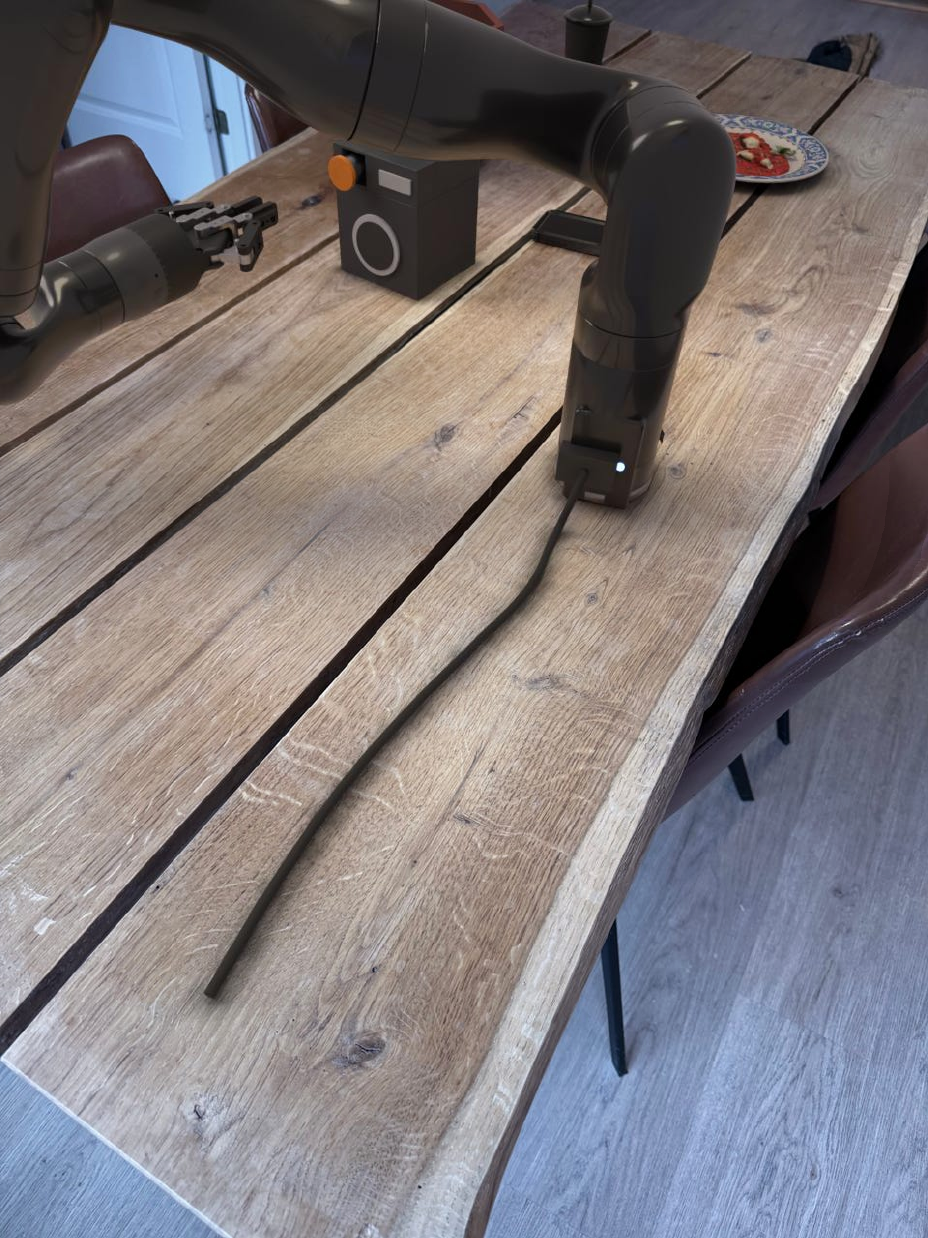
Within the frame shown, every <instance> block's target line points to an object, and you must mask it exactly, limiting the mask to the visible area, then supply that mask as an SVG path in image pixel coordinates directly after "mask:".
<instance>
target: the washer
mask: <svg viewBox="0 0 928 1238" xmlns="http://www.w3.org/2000/svg"><path fill="white" fill-rule="evenodd" d="M332 148H333V150H332V151H333V157H335V156H337V155H342V156H347V155H349V154H351V153H353V152H356V153H359V154H362V155H365V161H366V177H365V178H363V179H361V180H359V181H357V182H355V185H354V186H353V188H351V189H349V190H347V191H342V190H340V189H338V188H337V187H336V186H335V189H336V190H335V195H336V208H337V222H338V237H339V239H338V240H339V251H340V252H339V253H340V267H341V270H342V271H345V272H347V273H350V274H352V275H355V276H357V277H359V278H361V279H364V280H366V281H369V282H371V283H374V284H376V285H379V286H381V287H383V288H386V289H389V290H391V291H393V292H395V293H398V294H401V295H403V296H406V297H408V298H410V299H413V300H415V301H418V300H421V299H422V298H424V297H425V296H427V295H428V294H430V293H431V292H433V291H435V290H436V289H437V288H439V287H441V286H442V285H444V284H446V283H447V282H448V281H451V280H452V279H453V278H455V277H456V276H459V275H460V274H461V273H463V272H464V271H466V270H468V269H469V268H470V267H472V266H475V264H476V253H477V234H478V233H477V232H478V214H479V213H478V211H479V192H480V191H479V189H480V170H481V159H479V160H462V161H424V160H416V159H410V158H405V157H400V156H396V155H392V154H390V153H389V154H388V153H385V152H381V151H378V150H374V149H371V148H367V147H364V146H360V145H357V144H353V143H350V142H347V141H343V140H340V139H337V140H334V141H332Z"/></svg>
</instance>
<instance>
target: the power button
mask: <svg viewBox="0 0 928 1238" xmlns="http://www.w3.org/2000/svg"><path fill="white" fill-rule="evenodd" d="M327 171H328V176H329V179H330V181H331V182H332V184H333V185H334V186H335V188H336V187H337V188H338V189H340V190H342V191H347V190H349V189H351V188H353V186H354V185H355V182H357V181H359V180H361V179H363V178H365V177H366V161H365V155H362V154H359V153H356V152H353V153H351V154H349V155H347V156H342V155H337V156H335V157H334V156H333V157H331V158H330V160H329V162H328V165H327Z"/></svg>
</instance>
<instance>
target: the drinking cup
mask: <svg viewBox="0 0 928 1238" xmlns="http://www.w3.org/2000/svg"><path fill="white" fill-rule="evenodd" d="M593 2H594V0H587V4H580V5H576V6H575V7H572V8H570V9H567V10H565V12H564V13H563V14H564V20H565V35H564V36H565V37H564V39H565V40H564V41H565V42H564V57H565V58H569V59H572V60H576V61H581V62H585V63H590V64H594V65H599V66H603V60H604V54H605V50H606V45H607V41H608V36H609V30H610V28H611V27H610V26H611V23H612V22H613V19H614V16H613V14H612V13H610V12H608V11H607V10H606V9H604V8H603V7H600V6H598V5H595V4H593Z"/></svg>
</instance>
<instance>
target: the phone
mask: <svg viewBox="0 0 928 1238" xmlns="http://www.w3.org/2000/svg"><path fill="white" fill-rule="evenodd" d="M605 221H606V220H605V219H599V218H595V217H591V216H586V215H582V214H577V213H573V212H569V211H564V210H560V209H554V208H553V209H548V210H546V211H545V212H544V214H542V216H541V217H540V218H539V219H538V220H537V221H536V222H535V223H534V225H533V226H532V227H531V229H530V232H531V233H530V239H531V240H533V241H535V242H538V243H543V244H548V245H552V246H556V247H559V248H564V249H569V250H573V251H577V252H581V253H585V254H589V255H592V256H597V257H599V254H600V249H601V244H602V238H603V233H604V227H605Z"/></svg>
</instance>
